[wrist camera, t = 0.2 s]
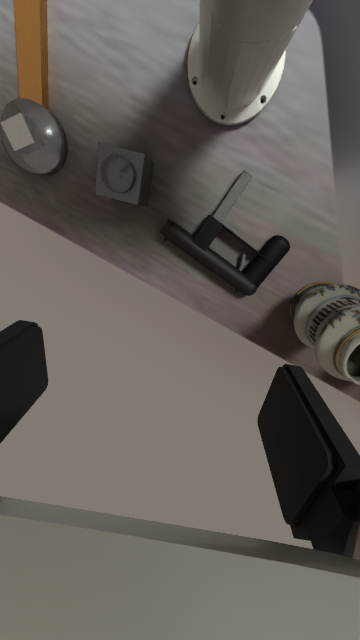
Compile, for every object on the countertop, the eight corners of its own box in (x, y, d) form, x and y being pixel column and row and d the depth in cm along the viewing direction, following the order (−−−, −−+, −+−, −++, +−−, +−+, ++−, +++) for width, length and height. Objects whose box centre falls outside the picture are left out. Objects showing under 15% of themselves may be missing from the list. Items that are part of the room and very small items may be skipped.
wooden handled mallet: (-4, -46, 29) (-39, -90, 24) (69, -25, 29) (47, -66, 25) (12, 167, 39) (-11, 162, 34) (67, 181, 39) (50, 177, 35)
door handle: (213, 141, 34) (154, 239, 39) (314, 226, 37) (247, 305, 43) (211, 148, 37) (156, 238, 42) (304, 226, 40) (243, 299, 46)
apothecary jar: (299, 269, 42) (362, 307, 26) (363, 283, 43) (465, 330, 26) (274, 327, 48) (313, 388, 31) (331, 339, 48) (399, 407, 32)
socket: (114, 152, 37) (95, 139, 30) (153, 162, 37) (143, 152, 30) (110, 196, 39) (92, 193, 33) (146, 205, 40) (136, 204, 33)
